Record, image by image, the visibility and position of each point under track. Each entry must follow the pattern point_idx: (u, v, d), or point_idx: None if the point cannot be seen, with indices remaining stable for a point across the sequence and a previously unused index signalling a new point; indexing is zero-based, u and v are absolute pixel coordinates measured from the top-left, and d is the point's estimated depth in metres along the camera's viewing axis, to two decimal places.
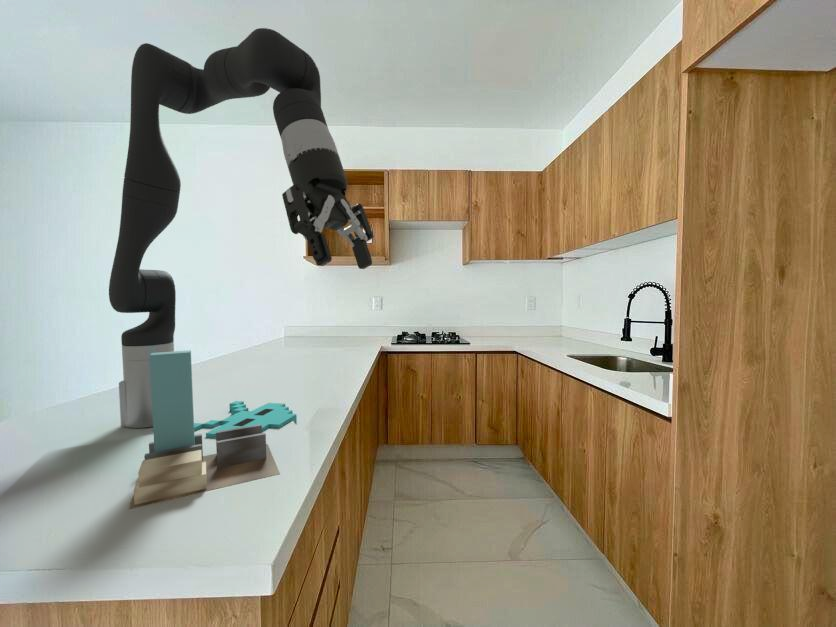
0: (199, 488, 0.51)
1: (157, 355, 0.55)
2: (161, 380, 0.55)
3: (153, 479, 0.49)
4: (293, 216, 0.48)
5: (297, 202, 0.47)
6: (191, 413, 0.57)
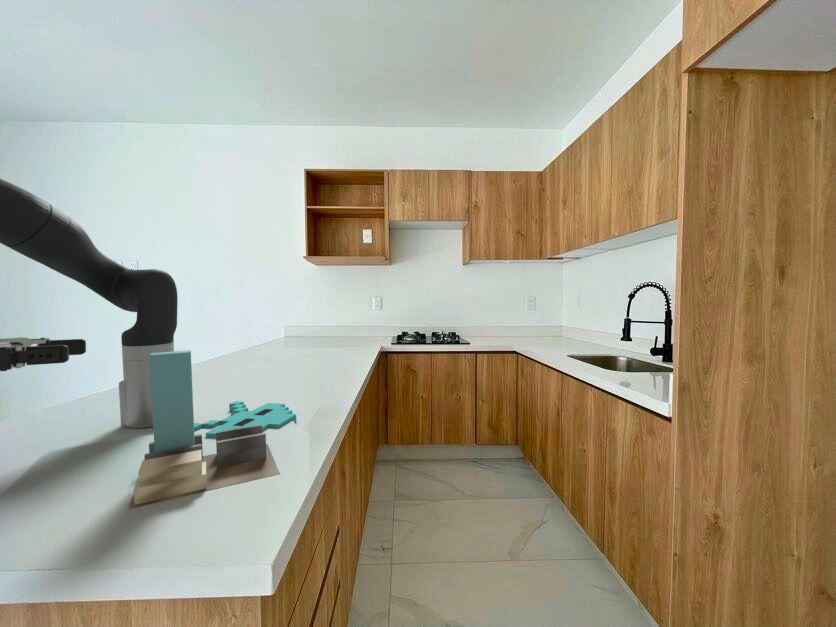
0: (199, 488, 0.51)
1: (157, 355, 0.55)
2: (161, 380, 0.55)
3: (153, 479, 0.49)
4: None
5: None
6: (191, 413, 0.57)
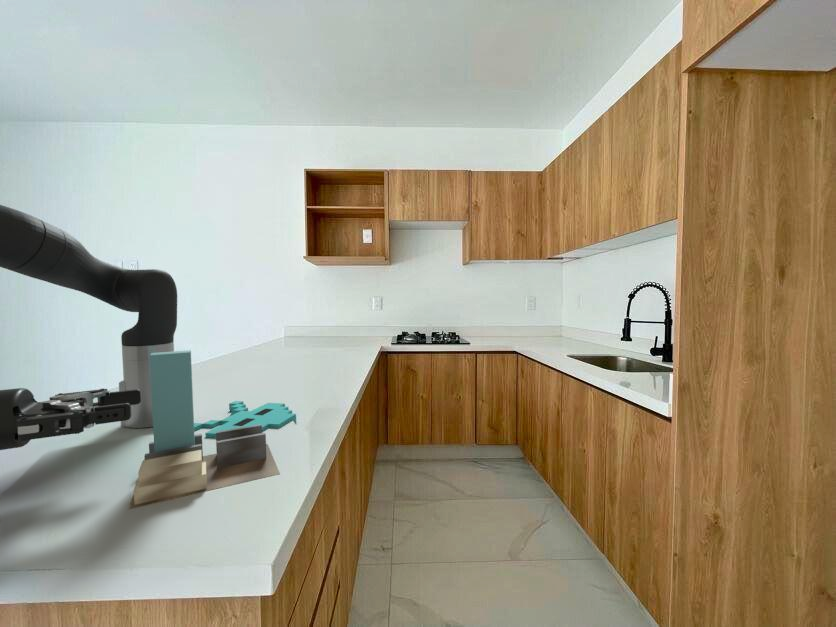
0: (199, 488, 0.51)
1: (157, 355, 0.55)
2: (161, 380, 0.55)
3: (153, 479, 0.49)
4: None
5: None
6: (191, 413, 0.57)
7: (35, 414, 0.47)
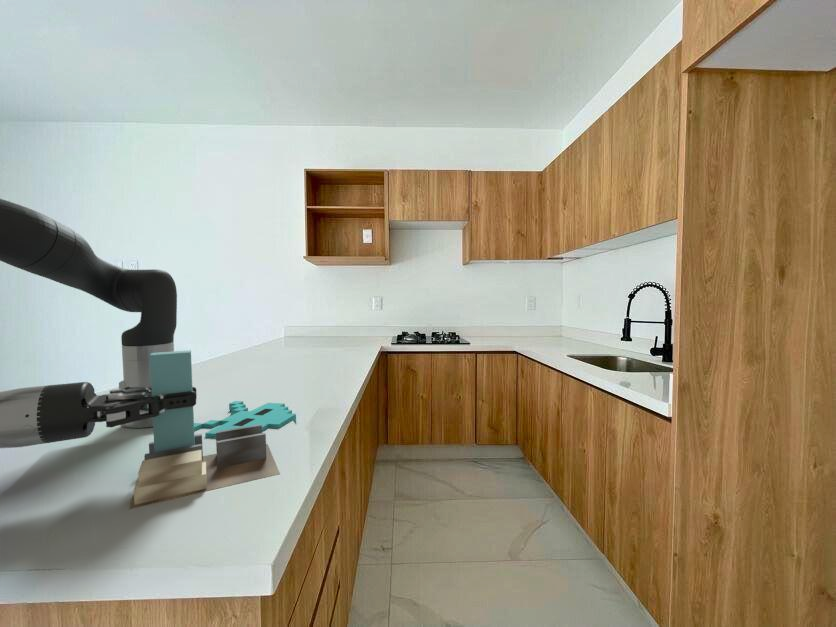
0: (199, 488, 0.51)
1: (157, 355, 0.55)
2: (161, 380, 0.55)
3: (153, 479, 0.49)
4: (149, 390, 0.59)
5: None
6: (191, 413, 0.57)
7: (105, 405, 0.50)
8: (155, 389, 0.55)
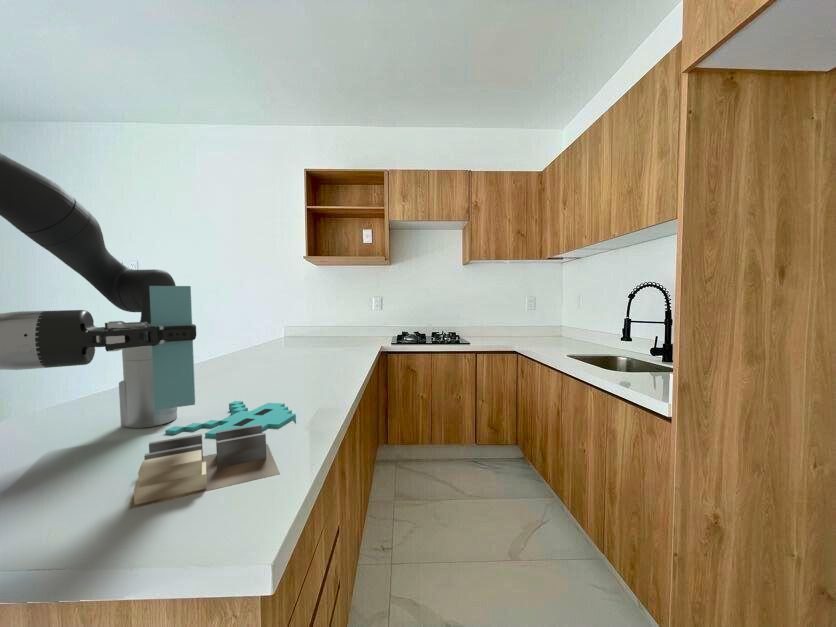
0: (199, 488, 0.51)
1: (157, 286, 0.54)
2: (161, 312, 0.55)
3: (153, 479, 0.49)
4: None
5: None
6: (191, 348, 0.57)
7: (104, 330, 0.50)
8: (154, 321, 0.54)
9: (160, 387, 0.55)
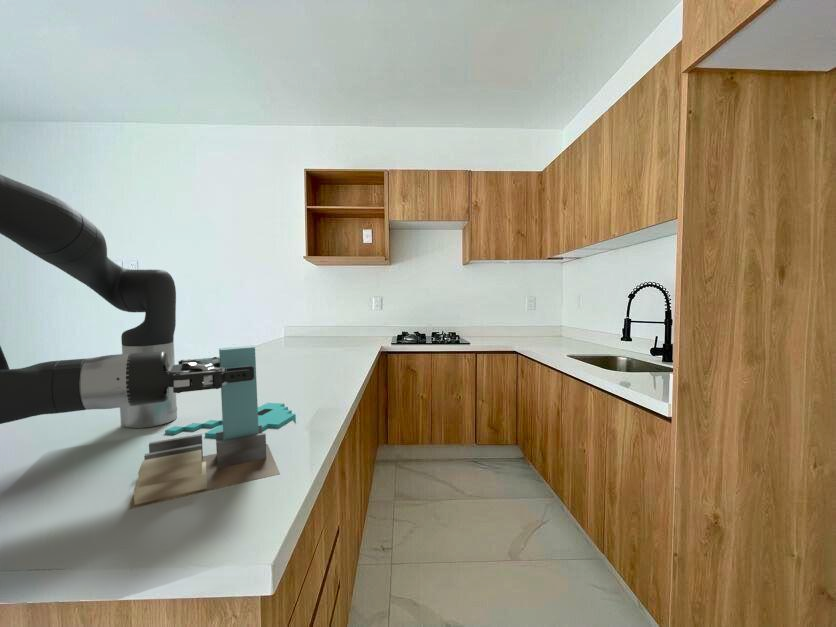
0: (199, 488, 0.51)
1: (226, 350, 0.59)
2: None
3: (153, 479, 0.49)
4: None
5: None
6: (256, 404, 0.62)
7: (181, 372, 0.54)
8: None
9: None
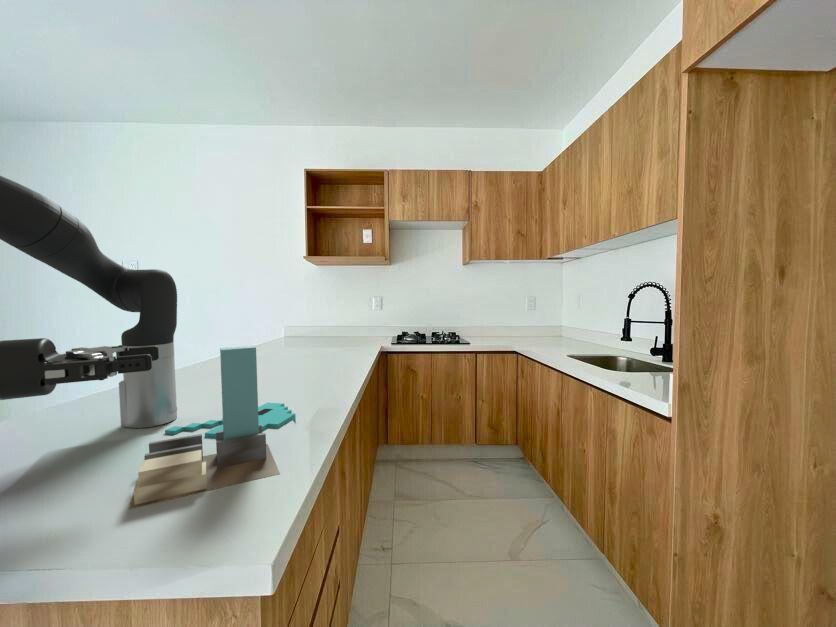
0: (199, 488, 0.51)
1: (227, 350, 0.59)
2: (231, 373, 0.59)
3: (153, 479, 0.49)
4: None
5: None
6: (256, 404, 0.62)
7: (60, 361, 0.48)
8: (226, 381, 0.59)
9: None
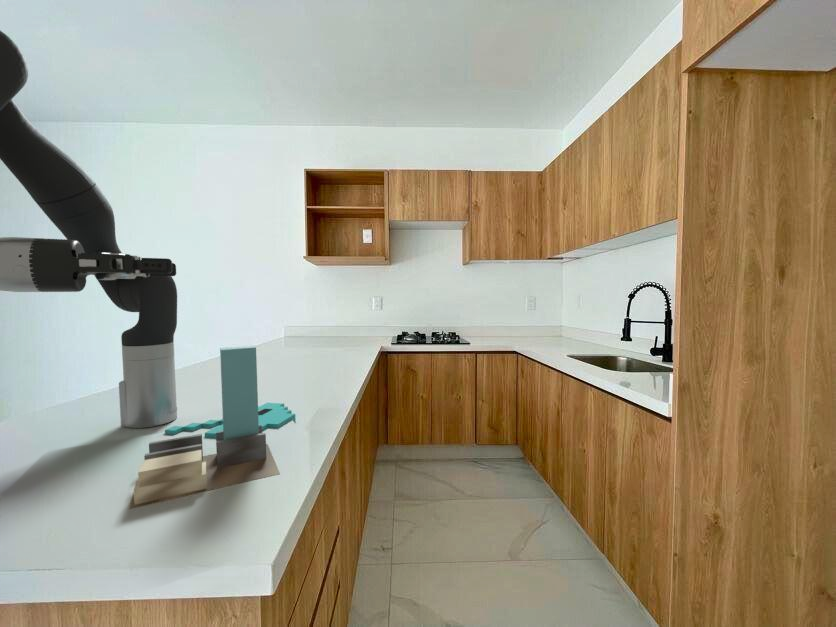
0: (199, 488, 0.51)
1: (227, 350, 0.59)
2: (231, 373, 0.59)
3: (153, 479, 0.49)
4: None
5: None
6: (256, 404, 0.62)
7: None
8: (226, 381, 0.59)
9: None
